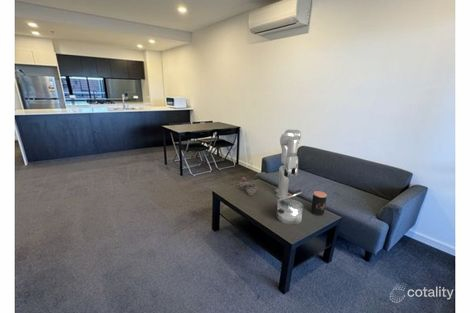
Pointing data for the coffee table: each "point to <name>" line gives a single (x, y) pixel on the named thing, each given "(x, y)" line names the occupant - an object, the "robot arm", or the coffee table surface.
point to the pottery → (251, 188)
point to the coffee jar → (318, 203)
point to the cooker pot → (289, 211)
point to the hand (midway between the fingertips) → (289, 175)
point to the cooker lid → (291, 195)
